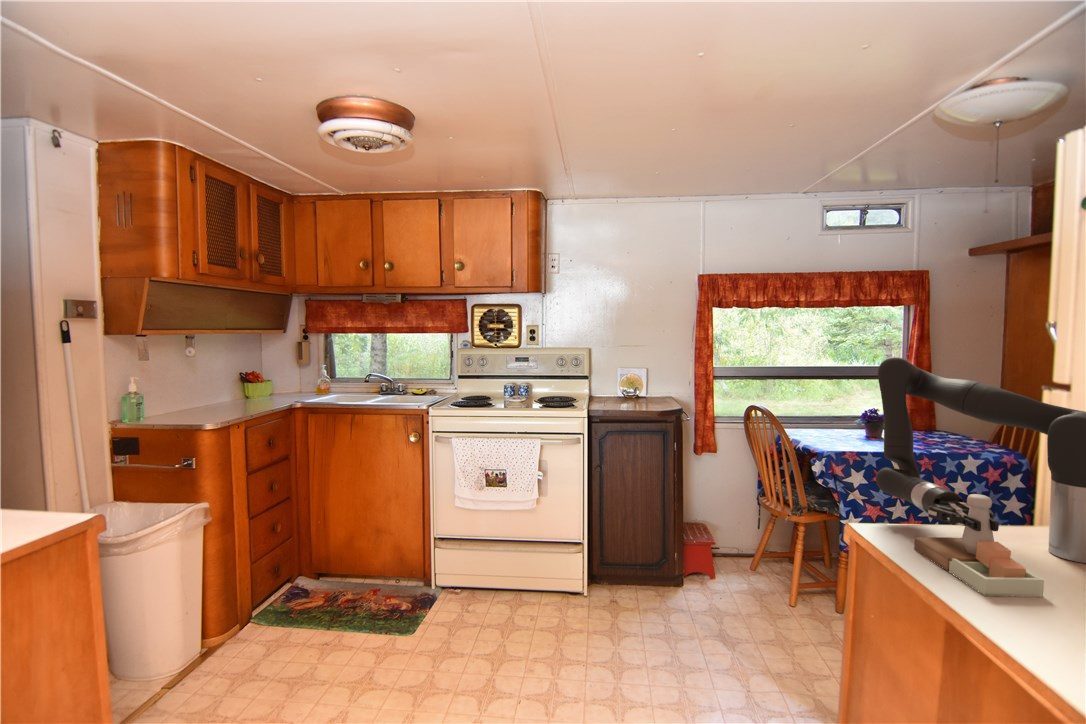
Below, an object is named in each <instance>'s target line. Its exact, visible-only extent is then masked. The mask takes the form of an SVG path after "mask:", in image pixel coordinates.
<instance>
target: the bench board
mask: <svg viewBox="0 0 1086 724" xmlns="http://www.w3.org/2000/svg"><path fill="white" fill-rule="evenodd" d="M961 539H962V537H952V536H951V537H949V536H948V537H947V536H945V537H942V536H941V537H940V536H939V537H935V536H934V537H933V536H928V537H927V536H925V537H922V536H921V537H919V536H918V537H917V536H914V541H913V542H914V544H913V550H915V551H916V552H917V553H919V554H920V555H921V556H923V557H925V558H926V557H927V559H928V560H929V559H930V561H931V560H932V561H933V562H932V561H931V562H932V563H934V562H935V563H936V565H937V564H938V565H940V566H941V567H943V568H944V569H946V570H947V571H949V561H952V558H953V559H957V560H959V561H961V562H980V561H979V560H977V559H976V555H973V554H970V553H968V552H967V550H966V549H965V547H964V545H963V543H962V540H961ZM935 563H934V564H935ZM938 565H937V566H938ZM940 566H939V567H940ZM941 567H940V568H941ZM943 568H942V569H943ZM944 569H943V570H944ZM946 570H945V571H946ZM947 571H946V572H947Z"/></svg>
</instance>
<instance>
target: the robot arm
mask: <svg viewBox="0 0 1086 724" xmlns="http://www.w3.org/2000/svg"><path fill="white" fill-rule="evenodd" d="M877 380H878V384H879V391H880V396H881V404H882V413H883V414H882V415H883V455H884V458H886V460H889V461H891V462H893V463H894V464H896V465H897V467H898V468H893V467H889V466H888V467H882V468H880V469H879V470H878V471H877V473H876V476H875V482H876V485H877V486H878V488H879V490H880V491H882V492H883V493H885V494H888V495H890V496H892V497H895V498H897V499H898V498H899V499H902V500H905V501H906V502H908V503H910V504H911V505H913V506H916V507H917V508H918V509H919V510H921V511H923V512H925V513H926V514H927V516H928V517H929V518H930V519H933V520H934V519H935V520H937V521H940V522H943V523H947V524H950V525H953V526H955V525H957V524H958V525H960V526H962V527H965V526H968V527H969V528H971V529H973V530H975V531H981V522H980V521H978V520H976V519H974V518H971V517H969V516H968V513H969V509H970V505H968V503H967V502H965V501H964V500H963V498H962V497H961V496H960V494H958V493H956V492H955V491H952V490H949V489H948V488H946V487H943V486H941V485H939V484H936V483H933V482H930V481H927V480H925V479H923V478H921V474H920V472H919V468H918V466H917V463H916V459H915V455H914V431H913V426H912V421H911V417H910V415H909V410H908V404H907V395H908V396H912V397H917V398H920V399H923V400H928V401H932V402H934V403H937V404H939V405H941V406H943V407H945V408H947V409H950V410H952V411H955V412H958V413H960V414H963V415H965V416H967V417H968V416H969V417H971V418H974V419H977V420H980V421H984V422H988V423H992V424H995V425H996V424H997V425H1002V426H1007V427H1008V426H1009V427H1014V428H1015V427H1016V428H1022V429H1027V430H1031V431H1035V432H1039V433H1041V434H1044V435H1046V436H1047V438H1046V440H1047V441H1046V442H1047V446H1046V447H1047V449H1046V450H1047V451H1046V452H1047V466H1048V469H1049V471H1050V494H1049V495H1050V497H1049V498H1050V501H1049V526H1048V527H1049V528H1048V550H1047V551H1048V552H1050V553H1051V554H1052V555H1054V556H1056V557H1059V558H1062V559H1064V560H1068V561H1072V562H1078V563H1083V564H1086V411H1084V410H1079V409H1072V408H1069V407H1064V406H1059V405H1054V404H1050V403H1046V402H1043V401H1039V400H1037V399H1033V398H1031V397H1028V396H1025V395H1022V394H1019V393H1017V392H1016V393H1015V392H1013V391H1010V390H1007V389H1004V388H1000V387H997V386H995V385H990V384H987V383H983V382H979V381H976V380H970V379H963V378H948V377H943V376H940V375H938V374H934V373H931V372H929V371H926V370H924V369H921V368H920V367H918V366H916V365H914V364H913V363H912V362H910V361H908V360H907V359H905V358H902V357H900V356H890V357H888V358H886V359H884V360H883V361H881V363H880V364H879V365H878V369H877ZM988 510H989V516H990V519H989V521H990V527H991V530H992V532H998V531H999V528H1000V526H999V525H1000V523H999V522H998V521H997V520H995V519H994V517H995V514H994V512H993V511H992V510H991V508H988Z"/></svg>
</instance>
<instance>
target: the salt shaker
mask: <svg viewBox="0 0 1086 724" xmlns="http://www.w3.org/2000/svg"><path fill="white" fill-rule="evenodd" d="M992 500H993V499H992V498H991V497H989V496H987V495H984V494H979V493H971V494H968V496H967V499H966V504H968V505H970V509H969V513H968V516H969V517H971V518H974V519H976V520H978V521H980V522H981V531H975V530H973V529H971V528H969V527H968V526H964V529H963V533H962V536H961V538H962V539H961V540H962V543H963V545H964V547H965V549H966V550H967V552H968V553H970V554H973V555H976V551H977V541H992V542H995V538H994V533H993V532H994V531H992V530H991V527H990V521H989V519H990V516H989V510H988V508H989V509H991V508H992V505H993V501H992Z"/></svg>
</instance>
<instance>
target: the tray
mask: <svg viewBox="0 0 1086 724" xmlns="http://www.w3.org/2000/svg"><path fill="white" fill-rule="evenodd" d="M989 569H990V568H988V567H987V566H985V565H984V564H983V563H981V562H961V561H959V560H957V559H953V558H952V561H949V572H951V573H952V574H954V575H955V576H957V577H958V578H960V579H961V580H963V581H964V582H965V583H964V582H963V581H962V582H963V583H964V584H966V583H967V584H968V585H967V584H966V585H967V586H969V585H970V586H971V587H970V586H969V587H970V588H972V587H973V588H974V589H973V588H972V589H973V590H975V589H976V590H977V591H976V590H975V591H976V592H978V591H979V592H980V593H979V592H978V593H979V594H980V595H982V594H983V595H982V596H984V597H1009V596H1011V597H1014V596H1016V597H1018V598H1019V597H1020V596H1021V597H1020V598H1023V597H1024V598H1027V597H1029V598H1031V597H1032V598H1044V590H1045V589H1044V588H1045V587H1044V585H1045V579H1044V578H1042V577H1039V576H1038V575H1036V574H1034V573H1033V572H1030V571H1028V570H1027V569H1026V573H1025V578H1004V577H990V576H989ZM949 572H948V573H949ZM952 574H951V575H952ZM954 575H953V576H954ZM955 576H954V577H955ZM957 577H956V578H957ZM958 578H957V579H958ZM960 579H959V580H960ZM961 580H960V581H961ZM1016 597H1014V598H1016Z"/></svg>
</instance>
